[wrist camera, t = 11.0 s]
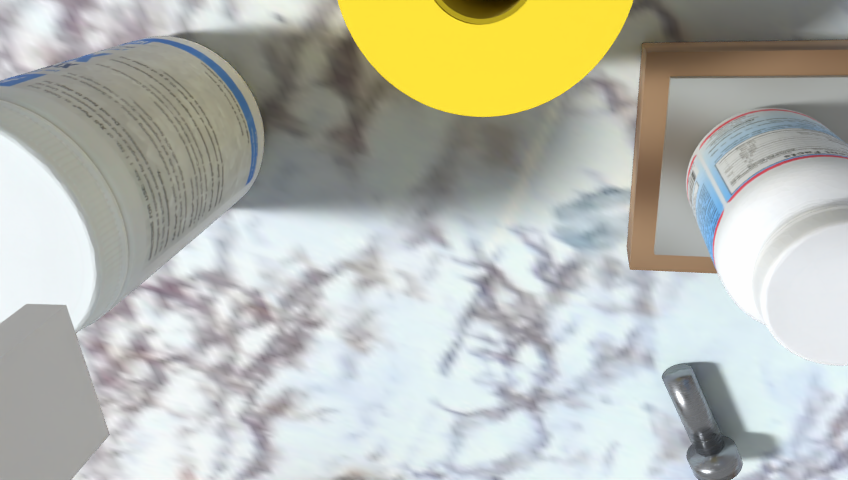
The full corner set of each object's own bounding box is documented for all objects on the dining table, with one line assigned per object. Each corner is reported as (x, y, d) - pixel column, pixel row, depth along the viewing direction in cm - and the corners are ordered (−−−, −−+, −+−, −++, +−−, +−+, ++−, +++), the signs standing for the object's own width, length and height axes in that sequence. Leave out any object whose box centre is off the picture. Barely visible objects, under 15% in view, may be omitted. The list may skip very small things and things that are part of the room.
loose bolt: (651, 372, 38) (655, 401, 36) (700, 358, 37) (707, 387, 35) (690, 455, 40) (696, 488, 38) (737, 443, 39) (747, 477, 37)
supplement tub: (145, -6, 35) (-111, 39, 22) (303, 107, 36) (145, 215, 23) (80, 144, 40) (-168, 256, 27) (222, 243, 41) (50, 398, 27)
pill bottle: (792, 258, 31) (891, 417, 21) (660, 210, 32) (696, 345, 22) (870, 132, 29) (1026, 246, 19) (725, 81, 29) (801, 166, 19)
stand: (642, 42, 32) (647, 53, 29) (891, 39, 30) (920, 50, 27) (626, 247, 36) (630, 273, 33) (845, 256, 34) (867, 284, 31)
